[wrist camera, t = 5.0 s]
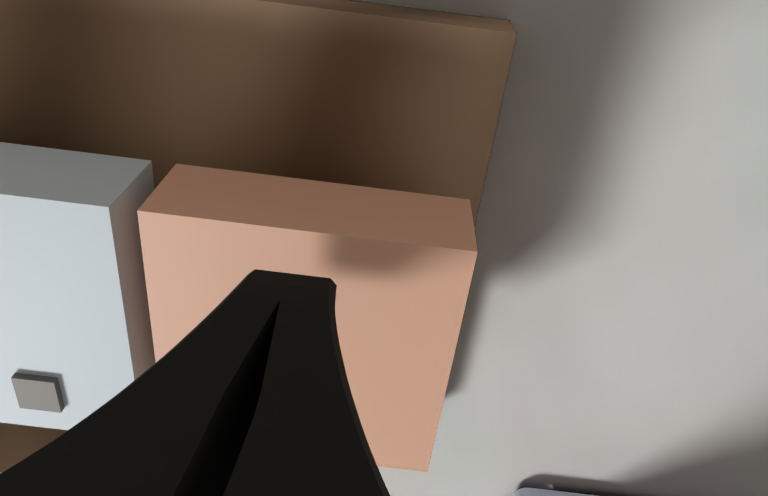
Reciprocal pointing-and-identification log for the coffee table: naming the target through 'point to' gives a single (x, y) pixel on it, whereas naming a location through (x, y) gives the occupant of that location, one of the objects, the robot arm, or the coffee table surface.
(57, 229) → the tile
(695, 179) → the coffee table surface
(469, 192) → the board
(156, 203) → the tile
